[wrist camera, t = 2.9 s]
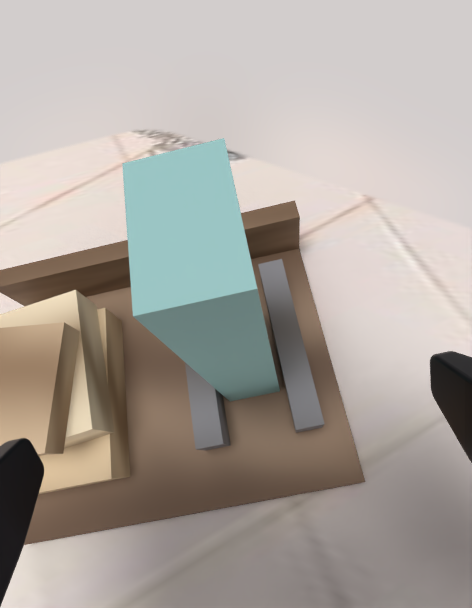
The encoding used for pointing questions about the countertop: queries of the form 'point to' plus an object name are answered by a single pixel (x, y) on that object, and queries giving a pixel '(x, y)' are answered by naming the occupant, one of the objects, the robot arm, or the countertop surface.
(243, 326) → the block
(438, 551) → the countertop surface
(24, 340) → the rack
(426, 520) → the countertop surface
